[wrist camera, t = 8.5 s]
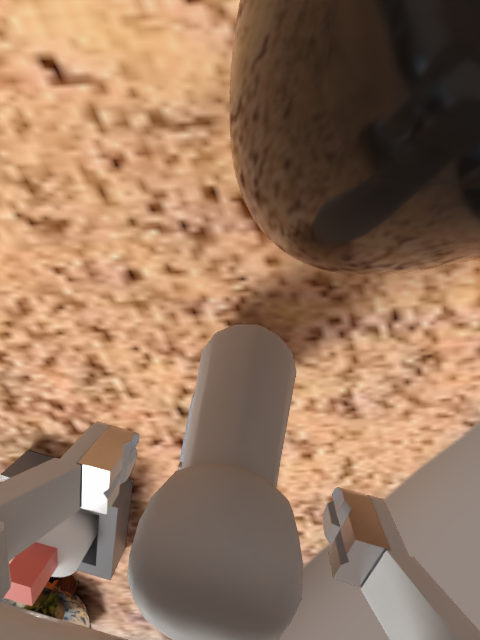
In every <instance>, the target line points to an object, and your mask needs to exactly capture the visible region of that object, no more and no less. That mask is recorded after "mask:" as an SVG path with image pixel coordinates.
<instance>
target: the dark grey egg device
mask: <svg viewBox="0 0 480 640" xmlns="http://www.w3.org/2000/svg"><path fill="white" fill-rule="evenodd" d="M230 137H231V150H232V158H233V164H234V169H235V174H236V178H237V182H238V185H239V188H240V191H241V194H242V196H243V199H244V201H245V204H246V206H247V208H248V210H249V212H250V213H251V215H252V217H253V219H254V220H255V222H256V223H257V225H258V226H259V227H260V229H261V230H262V231H263V232H264V234H265V235H266V236H267V237H268V238H269V239H270V240H271V241H272V242H273V243H274V244H275V245H276V246H278V247H279V248H280V249H281V250H283V251H284V252H285V253H287V254H288V255H290V256H292V257H293V258H295V259H297V260H299V261H301V262H303V263H305V264H308V265H310V266H313V267H316V268H319V269H323V270H327V271H332V272H338V273H347V274H390V273H402V272H411V271H418V270H425V269H431V268H437V267H442V266H447V265H452V264H456V263H461V262H466V261H470V260H474V259H478V258H480V0H240V3H239V9H238V15H237V22H236V29H235V37H234V44H233V54H232V64H231V79H230Z"/></svg>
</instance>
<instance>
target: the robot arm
mask: <svg viewBox="0 0 480 640" xmlns="http://www.w3.org/2000/svg"><path fill="white" fill-rule="evenodd" d="M138 442H139V434H138V433H136V432H132V431H129V430H126V429H122V428H119V427H116V426H113V425H108V424H105V423H102V422H98V421H97V422H95V423H94V424H92V425H91V426H90V427H89V428H88V429H87V430H86V432H85V433H84V434H83V435H82V436H81V437H80V438H79V439H78V440H77V441H76V442H75V443H74V444H73V445H72V446H71V447H70V448H69V449H68V451H67V452H66V453H65V454H64V455H63V456H62V457H61V458H60V459H58V458H53V459H51V460H49V461H47V462H44V463H42V464H40V465H38V466H35V467H33V468H31V469H29V470H27V471H24V472H22V473H20V474H18V475H15V476H13V477H11V478H9V479H6V480H4V481H2V482H0V640H128V639H124V638H121V637H118V636H114V635H111V634H108V633H104V632H101V631H97V630H94V629H91V628H87V627H84V626H81V625H77V624H74V623H71V622H67V621H64V620H61V619H57V618H54V617H51V616H47V615H44V614H40V613H37V612H34V611H30V610H27V609H24V608H20V607H17V606H14V605H10V604H7V603H4V602H1V600H2V599H3V598H4V596H5V595H6V593H7V592H8V591H9V589H10V588H11V577H10V569H9V561H10V560H11V559H13V558H14V557H15V556H17V555H18V554H20V553H21V552H22V551H24V550H25V549H26V548H28V547H29V546H31V545H32V544H33V543H35V542H36V541H37V540H39V539H40V538H42V537H43V536H44V535H46V534H47V533H48V532H50V531H51V530H53V529H54V528H55V527H57V526H58V525H59V524H61V523H62V522H64V521H65V520H66V519H68V518H69V517H70V516H72V515H73V514H75V513H76V512H77V511H79V510H80V508H82V509H86V510H90V511H94V512H98V513H102V514H107V513H108V511H109V510H110V508H111V506H112V505H113V503H114V501H115V499H116V498H117V496H118V494H119V488H120V485H121V484H122V483H124V482H126V481H127V479H128V477H129V475H130V474H131V471H132V469H133V467H134V464H135V461H136V458H137V450H136V448H135V447H136V445H137V443H138ZM332 497H333V501H332V502H330V503H328V504H327V506H326V508H325V510H324V518H323V526H324V533H325V537H326V539H327V540H328V541H329V543H330V544H331V547H330V550H329V552H328V555H329V559H330V565H331V570H332V575H333V579H336V580H339V581H342V582H345V583H348V584H351V585H354V586H358V587H361V591H362V592H363V594H364V596H365V597H366V599H367V601H368V603H369V604H370V606H371V608H372V610H373V612H374V613H375V615H376V617H377V618H378V620H379V622H380V624H381V625H382V627H383V628H384V631H385V632H386V634H387V636H388V638H389V639H390V640H480V631H479V630H478V629H477V628H476V626H475V625H474V624H473V623H472V622H471V621H470V620H469V619H468V618H467V616H466V615H465V614H464V613H463V612H462V611H461V610H460V608H459V607H458V606H457V605H456V604H455V603H454V602H453V601H452V599H451V598H450V597H449V596H448V595H447V594H446V593H445V592H444V590H443V589H442V588H441V587H440V586H439V585H438V584H437V583H436V581H435V580H434V579H433V578H432V577H431V576H430V575H429V574H428V572H427V571H426V570H425V569H424V568H423V567H422V566H421V565H420V563H419V562H418V561H417V560H416V559H415V558H414V557H411V556H409V554H408V552H407V549H406V547H405V545H404V543H403V541H402V538H401V536H400V534H399V531H398V529H397V527H396V525H395V522H394V520H393V518H392V516H391V513H390V511H389V509H388V507H387V504H386V503H385V501H384V500H383V499H381V498H377V497H373V496H369V495H365V494H362V493H358V492H355V491H351V490H347V489H343V488H339V487H337V488H336V489H334V491H333V493H332Z"/></svg>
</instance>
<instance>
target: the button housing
mask: <svg viewBox="0 0 480 640" xmlns="http://www.w3.org/2000/svg"><path fill="white" fill-rule="evenodd" d="M53 458H54V457H50V456H46V455H43V454H39V453H36V452H32V451H26V452H25V453H24V454H23V455H22V456H21V457H20V458H19V459H17V460H16V461H15V462H14V463H13V464H12V465H11V466H10V467H8V468H7V469H6V470H5V471H4V472H3V473H2V474H1V475H0V477H1V482H2V481H4V480H6V479H9V478H11V477H13V476H15V475H18V474H20V473H22V472H24V471H27V470H29V469H31V468H33V467H35V466H38V465H40V464H42V463H44V462H47V461H49V460H51V459H53ZM132 488H133V480H132V479H129V478H128V479H127V481H126V482H124V483H122V484H121V485H120V488H119V494H118V496H117V498H116V499H115V501H114V503H113V505H112V506H111V508H110V510H109V511H108V513H107V514H102V513H98V512H94V511H90V510H86V509H82V508H80V510H82V511H85V512H89V513H92V514H96V515H99V527H98V534H97V536H96V537H95V539H94V541H93V542H92V544H91V546H90V548H89V549H88V551H87V553H86V555H85V556H84V558H83V560H82V562H81V563H80V565H79V567H78V569H77V571H80V572H84V573H87V574H91V575H94V576H98V577H101V578H104V579H108V580H111V578H112V576H113V574H114V572H115V570H116V567H117V565H118V563H119V561H120V559H121V557H122V554H123V552H124V550H125V544H126V536H127V528H128V520H129V512H130V504H131V496H132Z"/></svg>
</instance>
